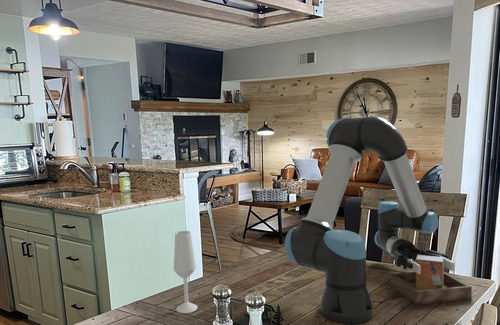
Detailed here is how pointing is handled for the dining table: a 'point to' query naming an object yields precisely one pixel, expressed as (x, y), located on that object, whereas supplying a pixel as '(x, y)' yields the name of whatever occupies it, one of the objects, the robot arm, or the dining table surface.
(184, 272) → the champagne flute
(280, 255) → the dining table surface
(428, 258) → the small box
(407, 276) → the wooden tray
